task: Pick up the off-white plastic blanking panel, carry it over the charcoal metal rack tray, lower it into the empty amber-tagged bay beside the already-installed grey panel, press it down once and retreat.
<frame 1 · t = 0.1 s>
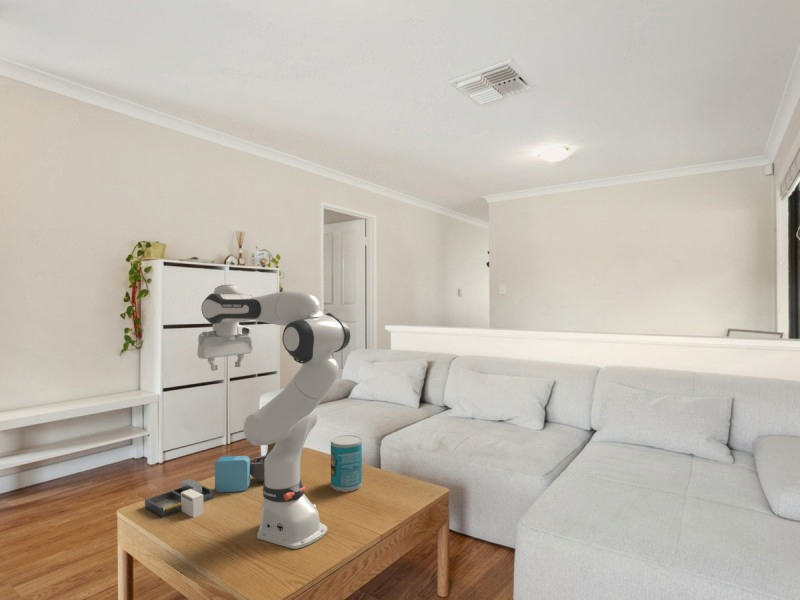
hand: (226, 368, 164), 48 cm above the table, fingers open, 8 cm apart
food can: (346, 486, 177), on the table
planter: (271, 479, 184), on the table
rack: (179, 503, 163), on the table
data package: (232, 489, 174), on the table
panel: (192, 512, 156), on the table
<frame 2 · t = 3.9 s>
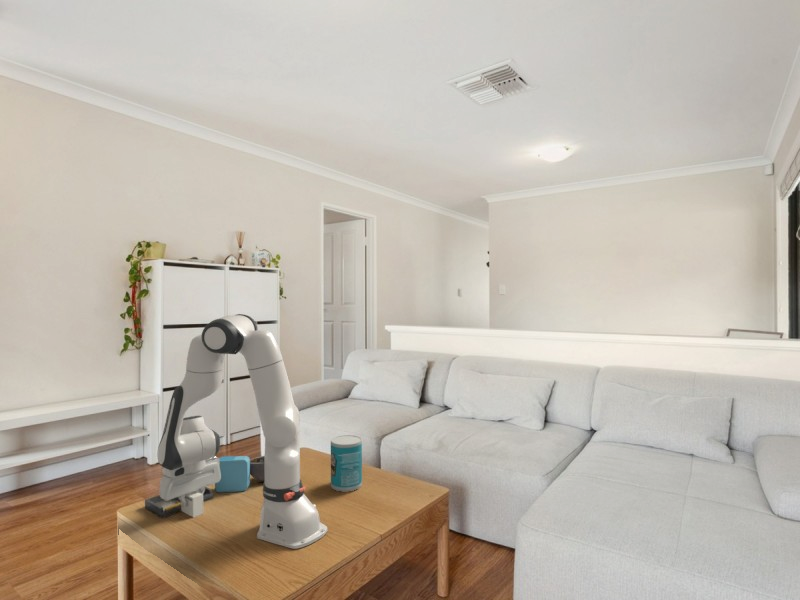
hand: (191, 503, 156), 3 cm above the table, fingers closed on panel, 3 cm apart
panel: (192, 512, 156), on the table, touching gripper
everything else where it was.
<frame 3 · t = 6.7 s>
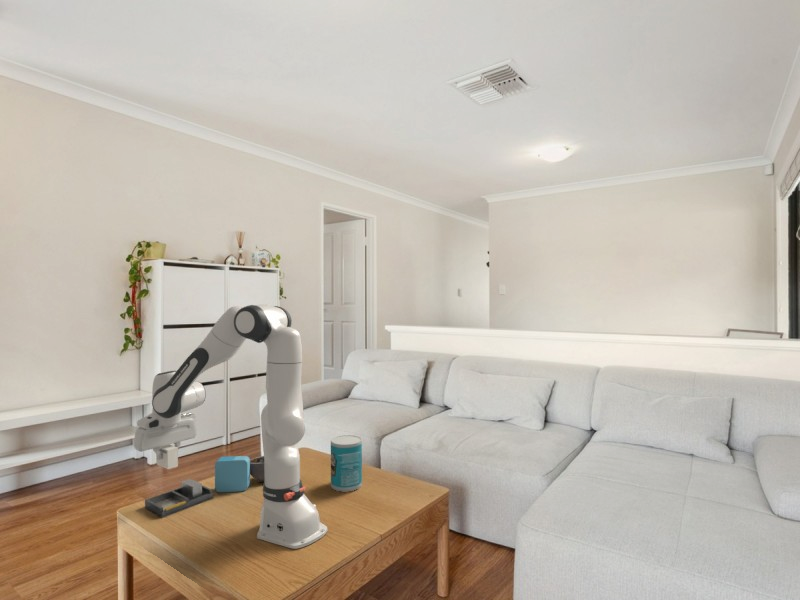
hand: (166, 457, 159), 18 cm above the table, fingers closed on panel, 3 cm apart
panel: (167, 465, 159), point 15 cm above the table, touching gripper
everything else where it was.
when the fingers open (5 cm above the table, at t = 9.2 s): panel drops 1 cm, resting on rack.
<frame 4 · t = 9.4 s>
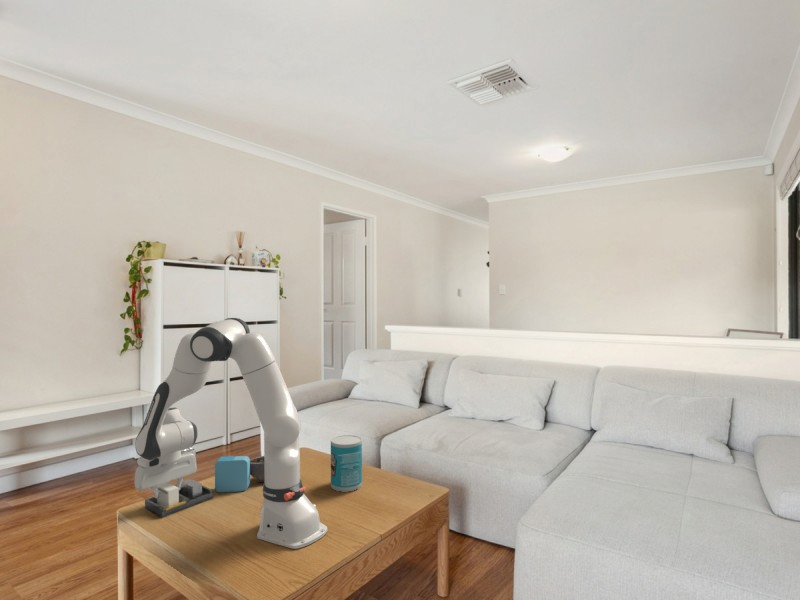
hand: (167, 493, 159), 5 cm above the table, fingers open, 5 cm apart
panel: (167, 505, 159), point 1 cm above the table, touching rack
everything else where it was.
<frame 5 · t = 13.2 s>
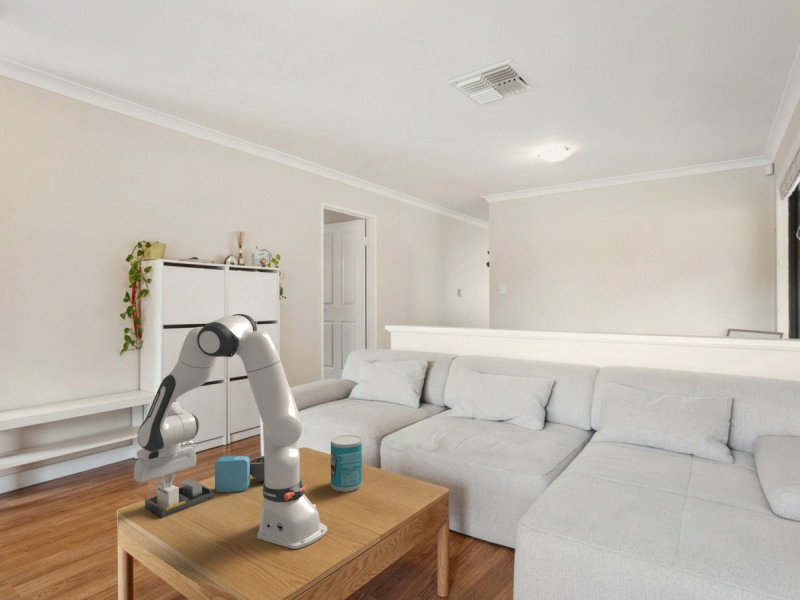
hand: (166, 486, 159), 7 cm above the table, fingers closed, pressing on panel
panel: (167, 505, 159), point 1 cm above the table, touching gripper, rack
everything else where it was.
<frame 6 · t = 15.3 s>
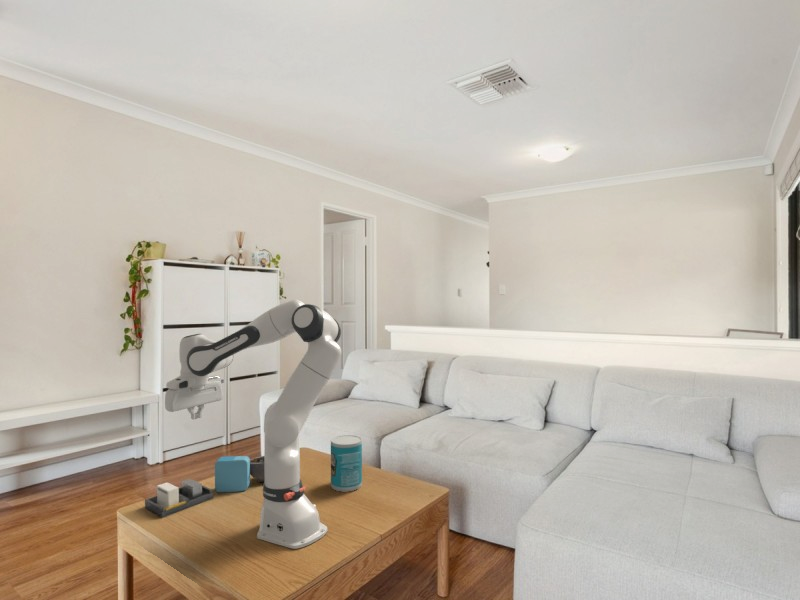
hand: (196, 418, 162), 30 cm above the table, fingers closed
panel: (167, 505, 159), point 1 cm above the table, touching rack
everything else where it was.
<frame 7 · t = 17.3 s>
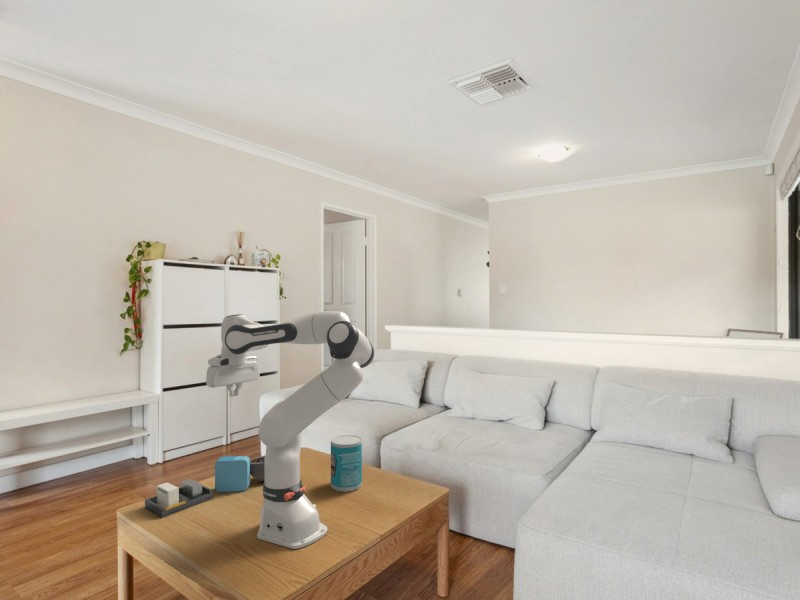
hand: (234, 395, 168), 37 cm above the table, fingers closed
nothing on the table moved.
at the end: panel 0.3 cm from the target spot on the rack, point 0.9 cm above the rack's base; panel tilted 0°; the gripper is holding nothing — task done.
